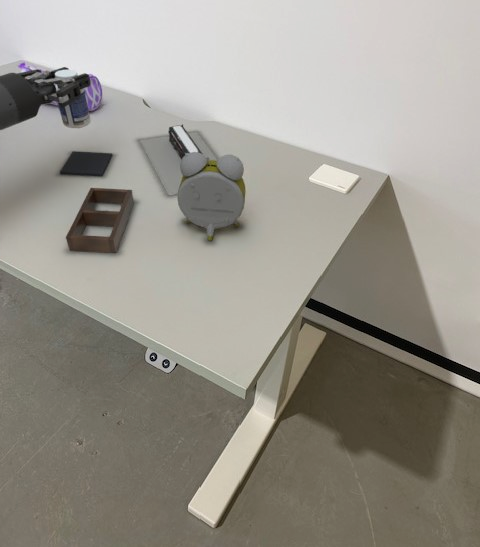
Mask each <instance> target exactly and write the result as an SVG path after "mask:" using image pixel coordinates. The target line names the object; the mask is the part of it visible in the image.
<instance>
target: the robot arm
mask: <svg viewBox="0 0 480 547" xmlns="http://www.w3.org/2000/svg"><path fill="white" fill-rule="evenodd" d="M40 69H41V68H38V69H36V70H32V71H27V72H22V73H20V72H17V73H16V72H8V73H5V74H2V75H0V131H3V130H6V129H8V128H11V127H13V126H16V125H18V124H21V123H23V122H26V121H28V120H31V119H33V118H35V117H37V116H38V113H39V111H40V108H41V106H45V105H51V104H50V103H51V102H53V101H55V102H58V103H59V106H60V107H66V106H67V105H69V104H70V103H72V102H74V101H75V100H77V99H78V98H80V97H81V96H82V95H81V91H80V90H81V89H83V88H86V87H89V86H90V85H91V82H90V77H89V75H88V74H89V73H86V72H84V73H81V74H77V75H78V76H75V77H72V78H69V79H64V80H61V79H59V78H55V73H56V72H57V71H60V70H70V69H69V67H67V66H63V67H60V68H56V69H53V70H47V69H46V70H45V71H44V72H41V70H42V69H41V70H40ZM54 84H57V87H58V89H57V90H58V91H57V90H56V86H55V85H54ZM65 84H68V85H67V86H65V87H64V85H65ZM59 106H58V107H59Z"/></svg>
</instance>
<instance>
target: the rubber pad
mask: <svg viewBox="0 0 480 547" xmlns="http://www.w3.org/2000/svg"><path fill="white" fill-rule="evenodd" d="M112 158H113V153H111V152H94V151H73V150H72V151H71V153H70V154H69V156H68V158H67V159H66V161H65V162H64V163H63V166H62V167H61V169H60V171H59V174H60V175H68V176H69V175H70V176H89V177H90V176H91V177H104V174H105V172H106V170H107V168H108V166H109V163H110V162H111V161H112Z"/></svg>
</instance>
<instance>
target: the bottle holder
mask: <svg viewBox="0 0 480 547" xmlns="http://www.w3.org/2000/svg"><path fill="white" fill-rule="evenodd" d="M133 195H134V194H133V190H132V189H126V188H125V189H122V188H107V187H105V188H103V187H90V188H89V190H88V192H87V194H86V196H85V198H84V200H83V202H82V203H81V206H80V208H79V210H78V212H77V214H76V216H75V218H74V220H73V222H72V223H71V226H70V228H69V230H68V232H67V234H66V236H65V241H66V243H67V246H68V249H69V251H70V252H87V253H88V252H89V253H108V254H110V253H112V254H117V251H118V250H119V249H118V248H119V245H120V243H121V240H122V237H123V234H124V231H125V228H126V226H127V223H128V220H129V217H130V214H131V212H132V210H133V206H134V203H135V202H134V196H133ZM97 204H110V205H111V204H112V205H121V207H120V208H119V211H118V210H117V211H116V210H100V209H99V210H97V209H95V207H96V205H97ZM86 226H91V227H112V229H111V232H110V235H109V236H105V235H83V233H84V230H85V228H86Z"/></svg>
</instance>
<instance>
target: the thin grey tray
mask: <svg viewBox="0 0 480 547" xmlns="http://www.w3.org/2000/svg"><path fill="white" fill-rule="evenodd" d="M168 134H169V135H168V136H161V137H153V138H148V139H140V140H139V142H140V143H141V145H142V147H143V149H144V151H145V153H146V155H147V156H148V159H149V161H150V163H151V164H152V166H153V168H154V170H155V172H156V174H157V176H158V178H159V179H160V182H161V183H162V185H163V187H164V189H165V191H166V193H167V194H168V196H175V195H178V190H179V186H180V183H181V180H182V177H183V175H182V173H181V169H180V163H181V160H182V159H183V157H184V156H185V154H186V153H191V152H198V153H201V154H203V155H204V156H205V157H206V158H207V157H209V159H214V160H218V159H217V157H216V156H215V155H214V153H213V152H212V151H211V149H210V148H209V147H208V145H207V144H206V142H205V141H204V140H203V139H202V138H201V136H200V135H199V133H198V132H195V131H194V132H188V131H187V130H186V128H185V127H184V123H182V124H180V125H173V126H169V127H168Z"/></svg>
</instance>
